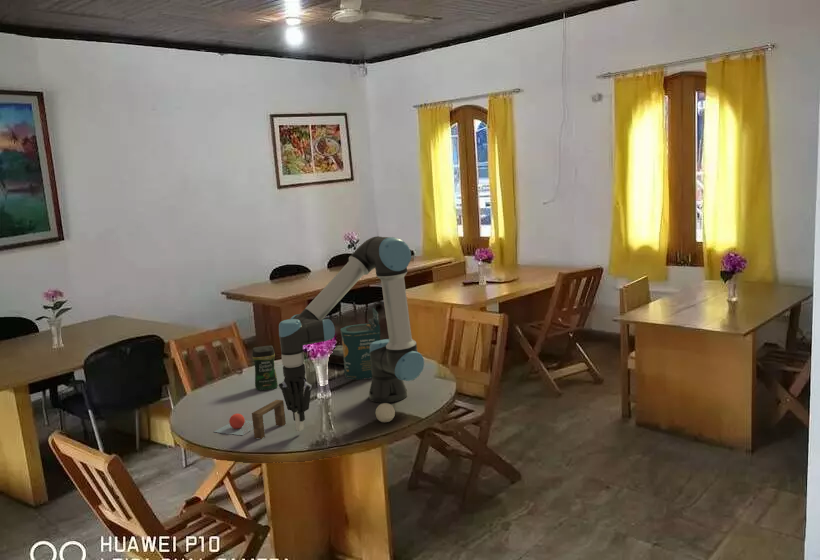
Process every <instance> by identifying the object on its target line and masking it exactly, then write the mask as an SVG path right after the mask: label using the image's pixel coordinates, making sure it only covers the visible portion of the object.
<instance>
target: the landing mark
mask: <svg viewBox="0 0 820 560" xmlns="http://www.w3.org/2000/svg"><path fill="white" fill-rule="evenodd" d="M245 421H246V423H248V422H249V423H250V424H251V423H252V421H253V420H247V419H245ZM249 423H248V424H249ZM248 424H247V425H248ZM244 425H245V424H244ZM244 425H243V427H244ZM251 425H252V424H251ZM248 426H249V425H248ZM248 426H247V427H248ZM243 427H241V428H239V429H234V428H232V427H231V426H230V423H227V424H225V425H224V426H222V427H219V428H217V429H216V430H214V431H213V433H216V432H217V433H218V434H224V433H226V435H232V434H234V435H233V436H240V435H243V436H245V435H246V434H245V433H244V434H245V435H244V434H243V432H244V429H243ZM240 429H241V430H240ZM242 430H243V431H242ZM249 430H250V427H249V429H248V431H249ZM245 431H246V430H245ZM251 431H253V430H252V428H251ZM239 434H240V435H239Z"/></svg>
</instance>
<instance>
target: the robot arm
mask: <svg viewBox="0 0 820 560" xmlns="http://www.w3.org/2000/svg"><path fill="white" fill-rule="evenodd" d="M411 261H412V253H411V249H410V247H409V245H408V243H406V242H405V241H404V240H403V239H400V238H397V237H393V236H392V237H391V236H373V237H370V238H368V239H367V240H365V241H364V242H363V243H362V244H360V245H359V247H357V248H356V249H355V250H354V251H353V252H352V253H351V254H350V256H349V257H348V261H347V263H346V264H344V266H343V267H342V268H341V270H339V272H338V273H336V275H334V277H333V278H332V279H331V280H330V281H329V282H328V284H326V286H324V288H323V289H322V290H321V291H320V292H319V293H318V294H317V295H316V296H315V298H314V299H313V300H312V301H310V303H309V304H308V305H307V306H306V307H305V308H304V309H303V310H302V311H301V312H300V313H299V314H294V315H293V316H291V317H290V318H289V319H283V320H281V321H280V322H279V324H278V337H279V343H280V353H281V355H280V356H281V364H282V372H283V373H282V374H283V377H284V379H283V382H279V383H278V387H279V389H280V390H281V393H282V396H283V399H284V400H283V401H284V402H285V403H284V404H285V405H286V406H285V407H286V409H287V410H288V411H291V412H292V418H293V421H294V422H295V431H296V432H301V431H302V430H304V429H305V423H304V421H305V420H306V416H305V412H306V411H308V410H309V409H310V402H311V395H312V394H311V393H312V389H313V387H314V384H312V383H309V382H308V381H307V378H306V365H305V356H304V355H305V354H304V346H308V345H312V344H313V345H314V344H317V343H323V342H325V343H326V342H327V341H331V340H333V339H334V338H335V334H336V328H335V325H334V323H333V320H331V319H330V318H326V316H327V315H328V314H329V313H330V312H331V311H332V309H334V308H335V306H336V305H337V304H338V303H339V302H340V301H341V300H342V299H343V298H344V297H345V295H347V293H348V292H349V291H350V290H351V289H352V288H353V287H354V286H355V285H356V284H357V282H358V281H360V279H362V277H363V276H366V275H369V273H370V272H371V271H373V270H374V269H375V277H377V278H378V279H379V280H380V281H381V288H382V289H381V290H382V296H383V304H384V312H385V319H386V328H387V335H388V338H386V339H380V340H379V341H375V342H372V343H371V344H370V359H371V371H372V378H371V382H370V388H369V391H368V396H369V397H368V398H369V400H370V401H372V402H374V403H380V404H383V403H388V404H389V403H395V402H398V401H402V400H404V399H406V398H407V397H408V389H407V387H406V384H405V382H410V381H413V380H416V379H417V378H419V376H420V374H421V373H422V372H423V370H424V366H425V360H424V357H423V355H422V354H421V353H420V352H418V346H417V341H416V340H415V339H413V338H412V331H411V322H410V314H409V313H410V312H409V306H408V298H407V292H406V282H405V276H406V275H407V273H408V266H409V264H410V263H411ZM404 381H405V382H404ZM406 396H407V397H406ZM405 397H406V398H405ZM394 401H395V402H394Z"/></svg>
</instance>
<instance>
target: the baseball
mask: <svg viewBox="0 0 820 560" xmlns="http://www.w3.org/2000/svg"><path fill="white" fill-rule="evenodd" d="M395 415H396V411H395V408H394V406H393V404H390V403H389V402H388V403H380V404H379V405H377V407H376V409H375V416H376V417H375V418H376V419H377V420H378V421H379V422H381V423H389V422H391V421H393V419H394V418H395Z"/></svg>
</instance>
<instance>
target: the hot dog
mask: <svg viewBox="0 0 820 560" xmlns="http://www.w3.org/2000/svg"><path fill="white" fill-rule="evenodd" d="M335 346H336V347H335V349H334V350H333V353H332V354H331V355H330V357H329V362H328V363H331V364H335V365H341V366H344V356H343V345H335Z"/></svg>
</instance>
